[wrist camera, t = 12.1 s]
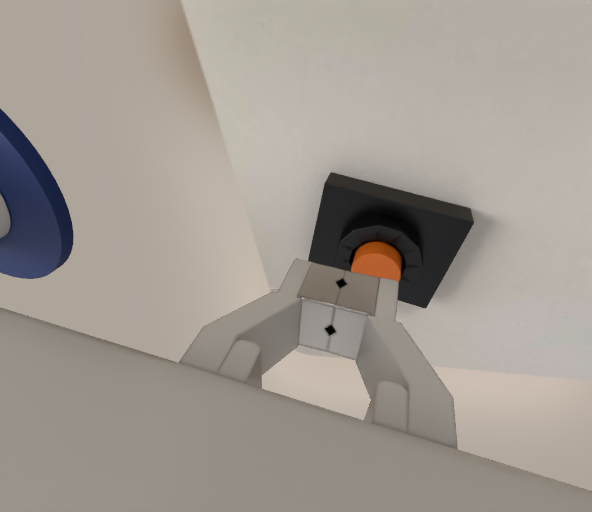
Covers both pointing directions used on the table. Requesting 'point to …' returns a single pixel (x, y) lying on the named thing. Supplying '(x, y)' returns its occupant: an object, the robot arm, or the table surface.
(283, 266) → the table surface
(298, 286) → the robot arm
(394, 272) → the button
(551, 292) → the table surface
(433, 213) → the control block
